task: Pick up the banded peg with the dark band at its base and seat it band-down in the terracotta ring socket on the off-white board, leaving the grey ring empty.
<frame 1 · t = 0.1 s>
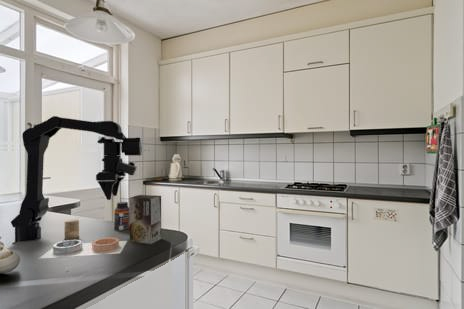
hand: (112, 197, 101), 15 cm above the counter, tool pointing down, fingers open, 9 cm apart
supplement bottle: (122, 231, 110), on the counter
coffee box: (145, 243, 95), on the counter
grey ring: (67, 250, 85), resting on socket board
socket board: (87, 252, 86), on the counter
banded peg: (71, 240, 97), on the counter
terracotta socket: (105, 247, 87), resting on socket board
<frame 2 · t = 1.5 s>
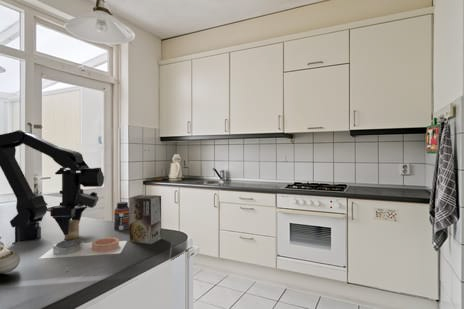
hand: (71, 230, 97), 3 cm above the counter, tool pointing down, fingers open, 9 cm apart
nothing on the counter moved.
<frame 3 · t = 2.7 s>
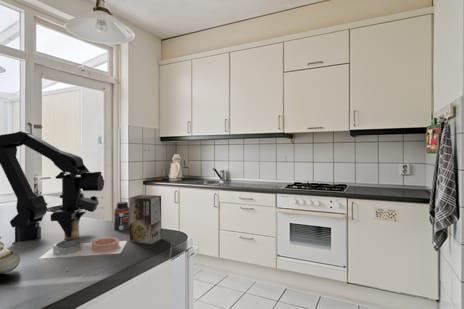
hand: (71, 235, 97), 2 cm above the counter, tool pointing down, fingers closed on banded peg, 4 cm apart
banded peg: (71, 240, 97), on the counter, touching gripper
everything else where it was.
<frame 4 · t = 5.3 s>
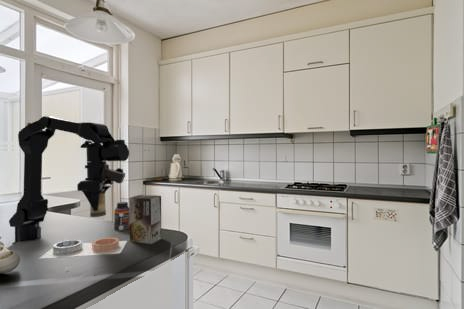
hand: (97, 209, 89), 13 cm above the counter, tool pointing down, fingers closed on banded peg, 4 cm apart
banded peg: (98, 215, 89), point 11 cm above the counter, touching gripper
everything else where it was.
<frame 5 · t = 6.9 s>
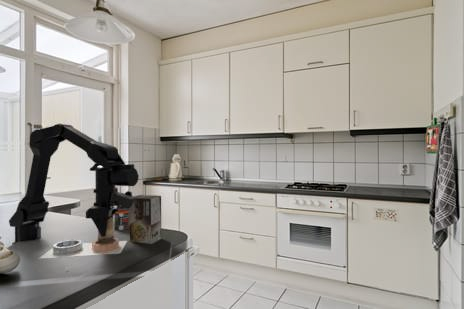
hand: (105, 234, 87), 5 cm above the counter, tool pointing down, fingers closed on banded peg, 4 cm apart
banded peg: (105, 240, 87), point 3 cm above the counter, touching gripper
everything else where it was.
when the fingers open (4 cm above the counter, at t = 7.9 s): banded peg stays where it is, resting on socket board.
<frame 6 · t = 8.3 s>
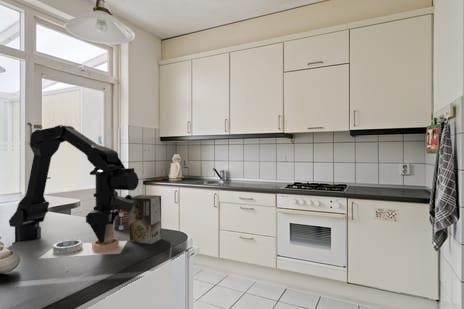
hand: (105, 238, 87), 4 cm above the counter, tool pointing down, fingers open, 8 cm apart
banded peg: (105, 247, 87), point 1 cm above the counter, touching socket board
everything else where it was.
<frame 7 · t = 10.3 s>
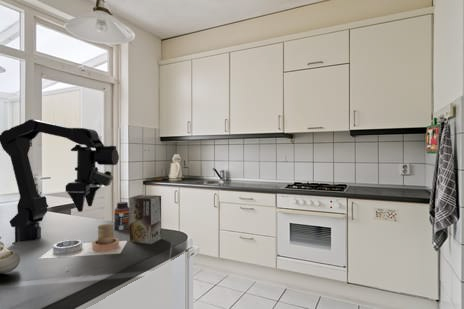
hand: (85, 208, 96), 11 cm above the counter, tool pointing down, fingers open, 9 cm apart
nothing on the counter moved.
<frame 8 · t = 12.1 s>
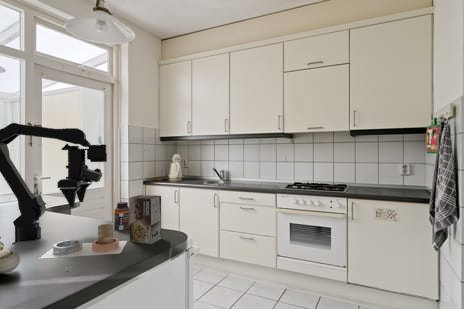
hand: (77, 204, 102), 12 cm above the counter, tool pointing down, fingers open, 9 cm apart
nothing on the counter moved.
at the end: banded peg 0.0 cm off-centre on the terracotta socket, point 0.0 cm above the terracotta socket's base; banded peg tilted 1°; the gripper is holding nothing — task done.
